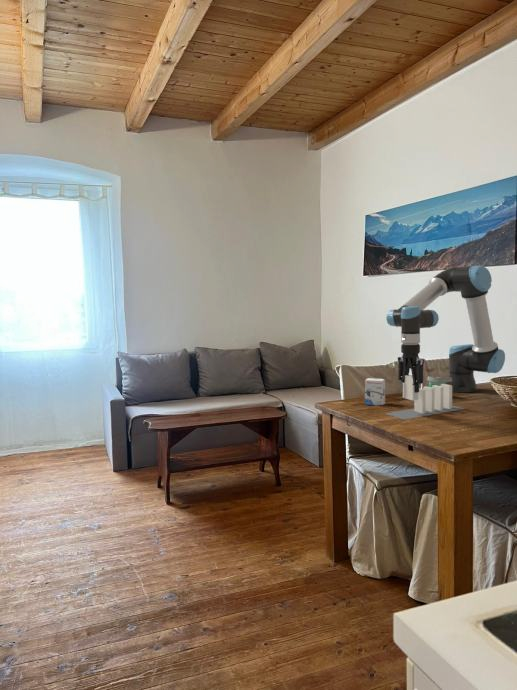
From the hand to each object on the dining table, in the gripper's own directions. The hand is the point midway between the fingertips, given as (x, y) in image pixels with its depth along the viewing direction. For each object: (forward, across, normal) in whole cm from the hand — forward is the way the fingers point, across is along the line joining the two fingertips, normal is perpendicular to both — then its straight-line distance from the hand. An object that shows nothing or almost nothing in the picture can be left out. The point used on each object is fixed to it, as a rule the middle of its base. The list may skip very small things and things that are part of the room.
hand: (410, 398), depth 220 cm
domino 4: (+6, 0, +15) cm, 16 cm away
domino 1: (0, 0, 0) cm, 0 cm away
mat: (+7, 0, +8) cm, 11 cm away
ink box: (+7, -24, 0) cm, 25 cm away
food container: (+7, -20, +34) cm, 40 cm away
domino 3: (+6, 0, +10) cm, 12 cm away
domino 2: (+6, 0, +5) cm, 8 cm away
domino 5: (+6, 0, +20) cm, 21 cm away
